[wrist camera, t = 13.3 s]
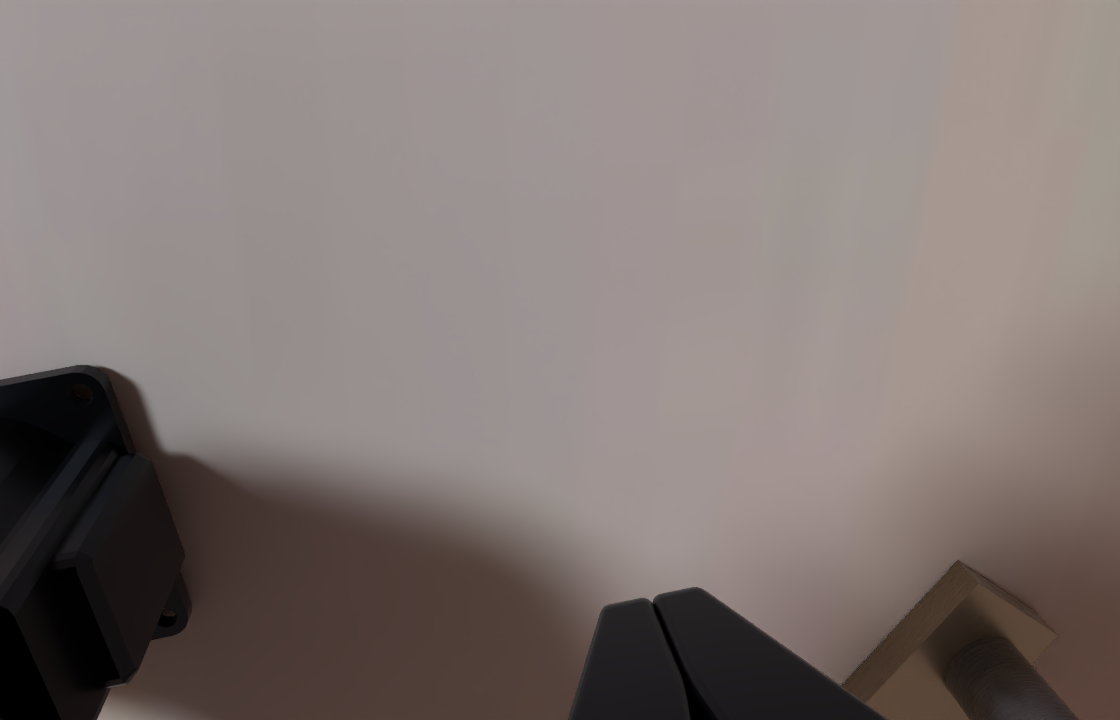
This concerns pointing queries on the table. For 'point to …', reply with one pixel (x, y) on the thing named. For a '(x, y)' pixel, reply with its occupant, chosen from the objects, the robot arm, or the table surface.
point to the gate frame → (962, 658)
